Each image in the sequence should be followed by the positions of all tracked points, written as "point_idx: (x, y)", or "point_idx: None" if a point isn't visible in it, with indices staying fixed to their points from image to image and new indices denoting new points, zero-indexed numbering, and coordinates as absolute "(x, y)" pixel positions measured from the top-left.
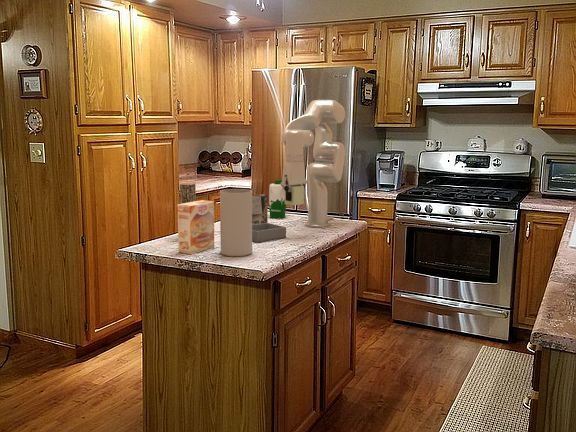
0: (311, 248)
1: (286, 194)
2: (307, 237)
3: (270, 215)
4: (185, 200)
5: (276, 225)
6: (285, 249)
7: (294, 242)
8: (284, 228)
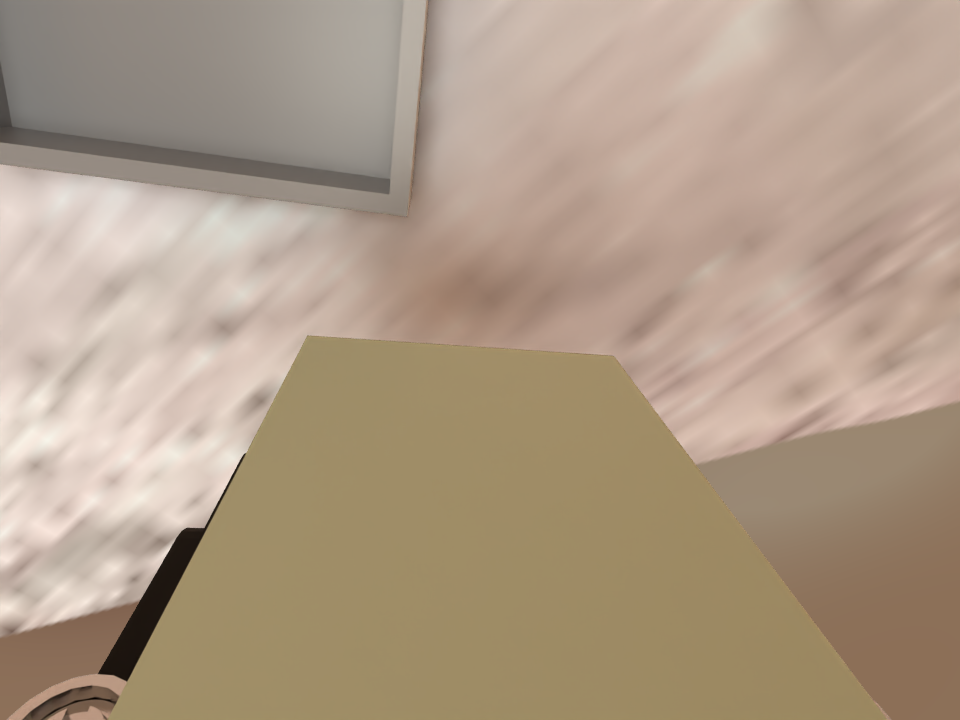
0: None
1: (139, 641)
2: (567, 322)
3: None
4: None
5: (402, 26)
6: (104, 478)
7: None
8: (379, 211)
